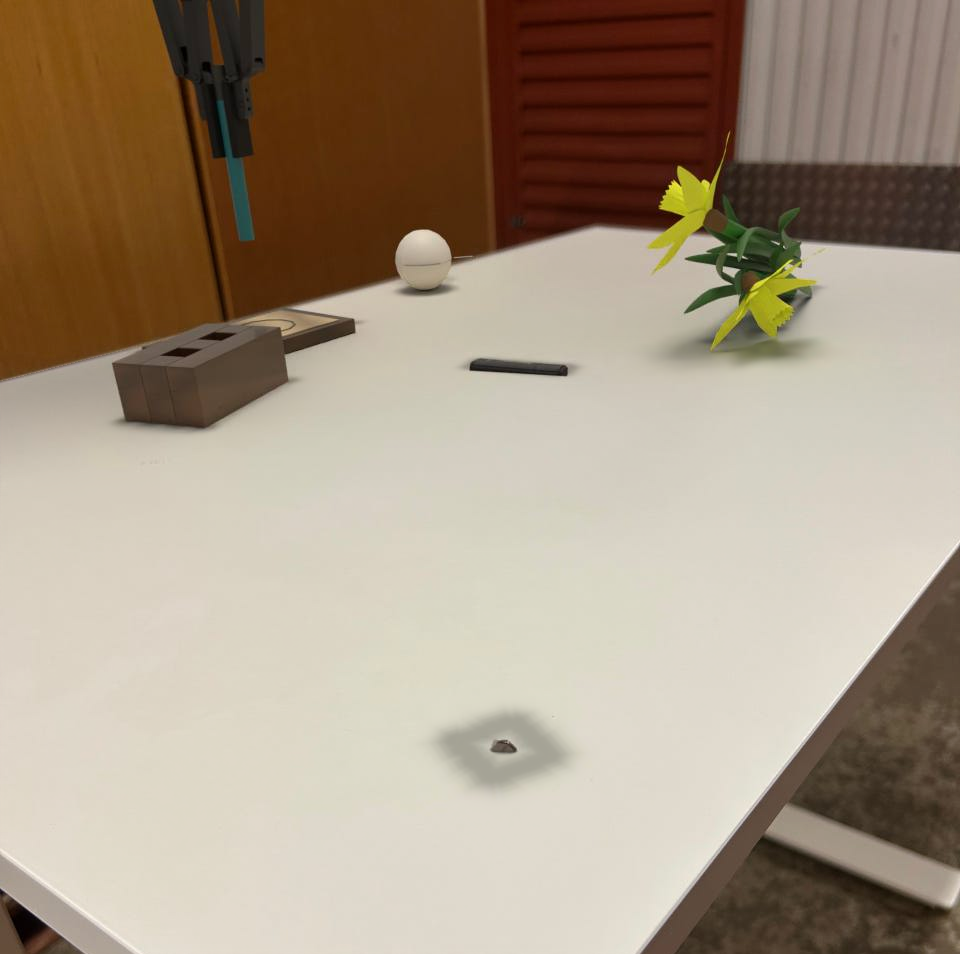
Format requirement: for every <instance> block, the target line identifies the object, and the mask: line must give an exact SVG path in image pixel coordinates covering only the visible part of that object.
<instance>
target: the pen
mask: <svg viewBox="0 0 960 954" xmlns="http://www.w3.org/2000/svg"><path fill="white" fill-rule="evenodd" d="M210 70H211V76H212V82H213V88H214V94H215V100H216V103H217V109H218V115H219V121H220V127H221V133H222V139H223V145H224V151H225V157H224V158H225V163H226V169H227V174H228V179H229V187H230V192H231V198H232V204H233V211H234V217H235V222H236V229H237V234H238V240H239V242H251V241H254V240H255V232H254V225H253V219H252V212H251V206H250V201H249V193H248V188H247V182H246V177H245V176H246V175H245V169H244V164H243V163H244V162H243V157H242V158H233V157H232V150H231V144H230V138H229V132H228V126H227V120H226V114H225V107H224V101H223V95H222V89H221V84H224V83H228V82H225V81H224V79H223V77H222V76H226V71H225V67H224V64H213V65H210Z"/></svg>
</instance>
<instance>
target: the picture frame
mask: <svg viewBox="0 0 960 954" xmlns="http://www.w3.org/2000/svg"><path fill="white" fill-rule="evenodd" d="M225 324H230V325H249V326H272V327H281V333H282V340H283V346H284V353H285V355H287V354H290V353H292V352H296V351H299V350H302V348H303V349H306V348H309V347H312V346H315V345H318V343H319V344H321V342H322V343H324V341H325V342H328V341H331V340H334V338H335V339H338V338H341V337H344V336H348V335H351V334H353V332H354V333H356V332H357V331H356V330H357V329H356V321H355V318H352V317H347V316H339V315H333V314H327V313H321V312H314V311H308V310H302V309H295V308H290V307H282V308H278V309H273V310H270V311H266V312H263V313H259V314H256V315H252V316H249V317H244V318H241V319H237V320H234V321H230V322H226V323H225ZM350 333H351V334H350ZM337 337H338V338H337ZM165 340H166V339H164V340H161V341H156V342H152V343H149V344H145V345H142V346H141V350H143V349H146V348H148V347H151V346H153V345H155V344H158V343H160V342H163V341H165ZM286 353H287V354H286Z"/></svg>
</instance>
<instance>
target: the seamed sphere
mask: <svg viewBox="0 0 960 954" xmlns="http://www.w3.org/2000/svg"><path fill="white" fill-rule="evenodd" d="M473 257H474V256H473V255H465V256H464V258H473ZM460 258H462V256H454V257H452V253H451V249H450V246H449V245H448V243H447V242H446V240H445V239H444V238H443V237H442V236H441V235H440V234H439V233H437V232H435V231H432V230H431V229H416V230H412V231H411V232H409V233H408V234H406V235H405V236H404V237H403V238H402V239H401V241H400V242H399V244H398V246H397V248H396V252H395V261H394V263H395V267H396V271H397V273H398V275H399V276H400V278H401V280H403V282H405V283H406V285H408V286H409V287H411V288H414V289H416V290H418V291H428V290H433V289H435V288H436V287H438V286H440V285H442V284H443V282H444V281H446V279H447V278H448V276H449V273H450V270H451V269H452V268H451V267H452V260H453V259H460Z"/></svg>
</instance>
